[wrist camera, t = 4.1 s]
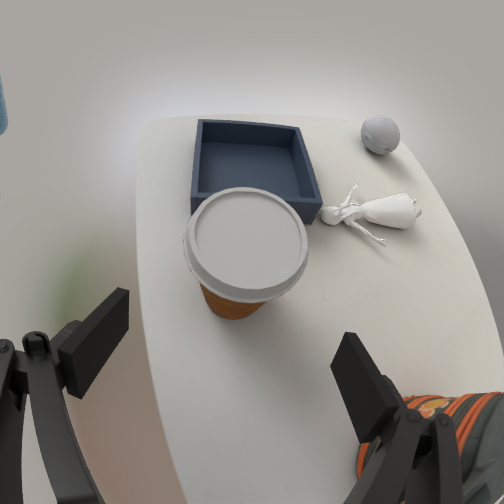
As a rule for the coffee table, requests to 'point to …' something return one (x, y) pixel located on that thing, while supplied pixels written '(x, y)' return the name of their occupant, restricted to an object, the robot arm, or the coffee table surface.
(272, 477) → the coffee table surface
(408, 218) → the woman figurine
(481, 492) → the lidded tankard
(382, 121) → the bath bomb
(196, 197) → the bin
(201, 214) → the disposable coffee cup
